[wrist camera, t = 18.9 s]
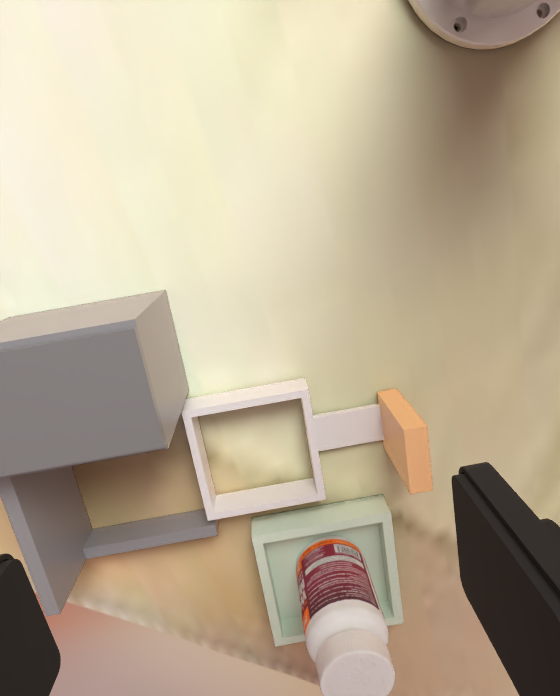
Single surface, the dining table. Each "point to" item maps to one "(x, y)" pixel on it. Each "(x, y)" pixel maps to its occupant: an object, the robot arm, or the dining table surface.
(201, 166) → the dining table surface
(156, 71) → the dining table surface
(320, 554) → the pill bottle
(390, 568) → the tray
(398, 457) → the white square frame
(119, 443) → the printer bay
